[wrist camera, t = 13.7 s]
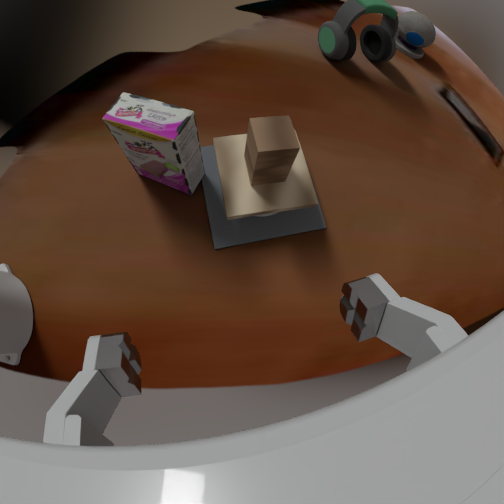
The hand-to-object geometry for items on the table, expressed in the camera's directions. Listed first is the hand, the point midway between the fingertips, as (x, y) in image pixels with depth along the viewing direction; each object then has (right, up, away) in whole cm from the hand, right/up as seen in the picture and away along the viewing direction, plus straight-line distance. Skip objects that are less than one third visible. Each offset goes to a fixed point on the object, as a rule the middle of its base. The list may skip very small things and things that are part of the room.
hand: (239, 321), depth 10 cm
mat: (+2, +13, +36) cm, 38 cm away
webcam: (+50, +69, +53) cm, 100 cm away
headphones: (+26, +53, +48) cm, 76 cm away
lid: (+2, +14, +31) cm, 35 cm away
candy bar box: (-13, +15, +35) cm, 40 cm away
